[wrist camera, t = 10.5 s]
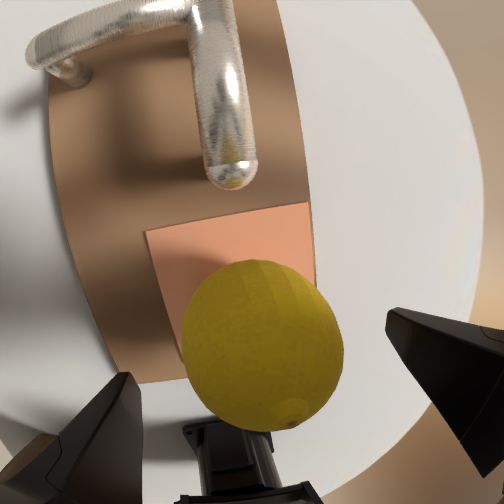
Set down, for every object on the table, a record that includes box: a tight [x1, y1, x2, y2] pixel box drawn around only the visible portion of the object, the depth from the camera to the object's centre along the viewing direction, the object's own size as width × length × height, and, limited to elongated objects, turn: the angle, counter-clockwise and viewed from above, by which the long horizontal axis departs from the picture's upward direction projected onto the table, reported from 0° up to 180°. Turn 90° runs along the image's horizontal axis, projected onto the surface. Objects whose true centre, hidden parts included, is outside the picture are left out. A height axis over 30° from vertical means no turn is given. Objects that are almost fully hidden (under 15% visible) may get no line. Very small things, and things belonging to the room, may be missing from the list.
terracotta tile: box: [146, 202, 314, 357], centre depth 13 cm, size 8×8×1 cm
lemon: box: [181, 259, 344, 432], centre depth 10 cm, size 6×6×8 cm
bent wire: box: [25, 0, 258, 190], centre depth 8 cm, size 8×8×5 cm
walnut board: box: [49, 0, 317, 384], centre depth 12 cm, size 21×12×1 cm, turn 8°
